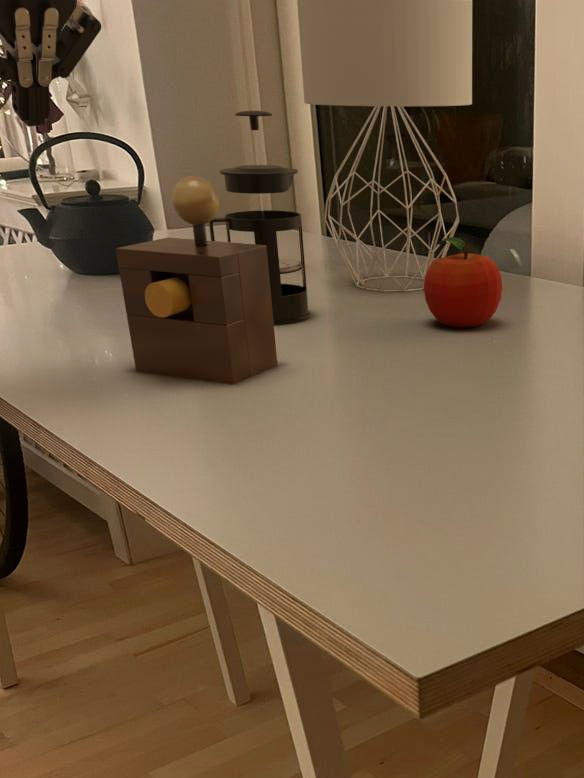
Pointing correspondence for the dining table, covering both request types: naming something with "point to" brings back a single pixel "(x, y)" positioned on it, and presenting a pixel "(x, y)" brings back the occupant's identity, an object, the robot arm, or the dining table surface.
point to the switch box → (200, 299)
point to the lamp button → (168, 297)
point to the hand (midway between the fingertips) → (31, 121)
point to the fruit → (463, 287)
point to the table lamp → (387, 85)
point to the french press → (268, 228)
